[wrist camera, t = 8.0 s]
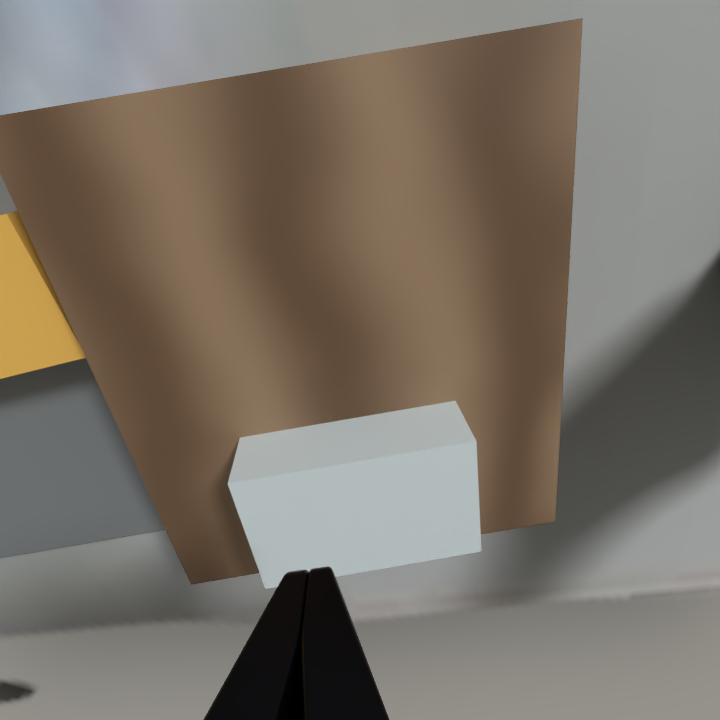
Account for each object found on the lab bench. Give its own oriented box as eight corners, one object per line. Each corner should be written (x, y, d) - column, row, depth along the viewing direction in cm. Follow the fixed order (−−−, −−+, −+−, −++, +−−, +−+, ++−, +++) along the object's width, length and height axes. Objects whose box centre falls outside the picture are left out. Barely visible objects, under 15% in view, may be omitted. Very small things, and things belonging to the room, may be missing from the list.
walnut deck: (521, 46, 16) (582, 18, 12) (519, 462, 24) (555, 521, 20) (54, 123, 15) (-26, 119, 12) (211, 516, 23) (191, 584, 20)
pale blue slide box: (455, 400, 17) (476, 440, 15) (462, 502, 19) (481, 551, 17) (239, 437, 17) (227, 483, 14) (271, 535, 19) (265, 589, 17)
